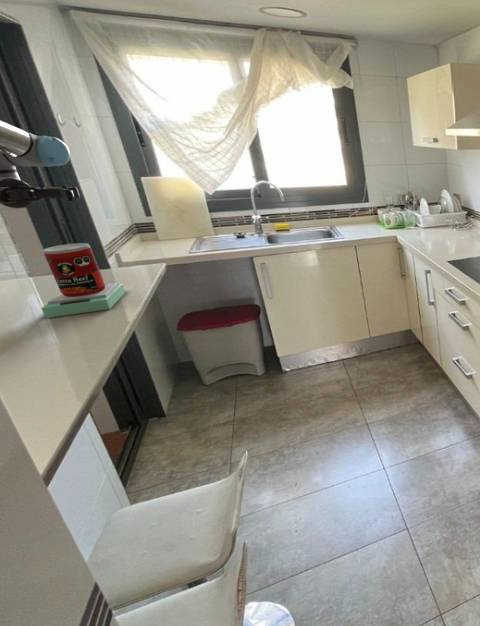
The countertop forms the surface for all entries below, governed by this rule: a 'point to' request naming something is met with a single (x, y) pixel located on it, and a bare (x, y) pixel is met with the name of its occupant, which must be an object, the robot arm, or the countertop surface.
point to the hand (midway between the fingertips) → (29, 198)
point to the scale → (84, 302)
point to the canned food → (75, 269)
